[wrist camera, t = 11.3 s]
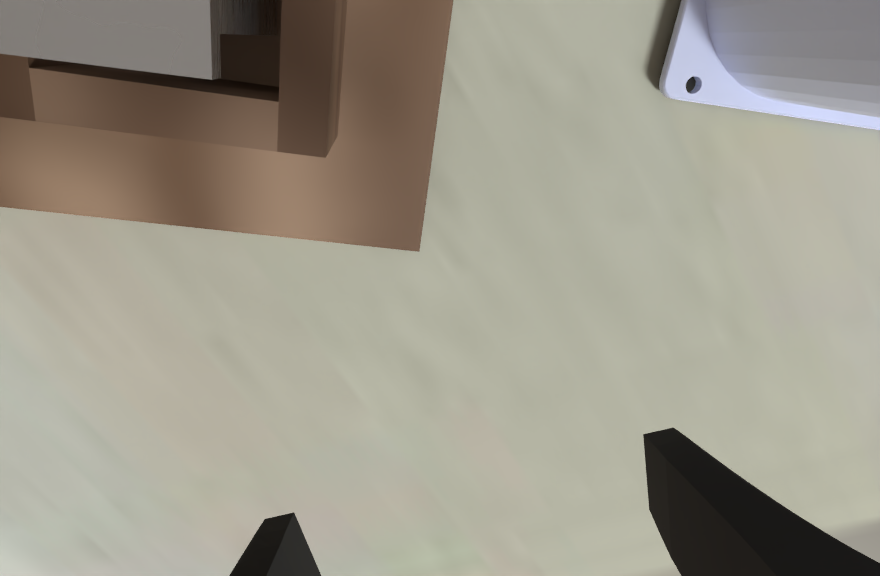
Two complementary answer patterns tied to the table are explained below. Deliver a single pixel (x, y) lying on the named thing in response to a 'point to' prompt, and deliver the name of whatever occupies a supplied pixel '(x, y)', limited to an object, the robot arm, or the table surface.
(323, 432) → the table surface
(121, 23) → the pale gray rectangular block
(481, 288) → the table surface
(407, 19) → the walnut holder
